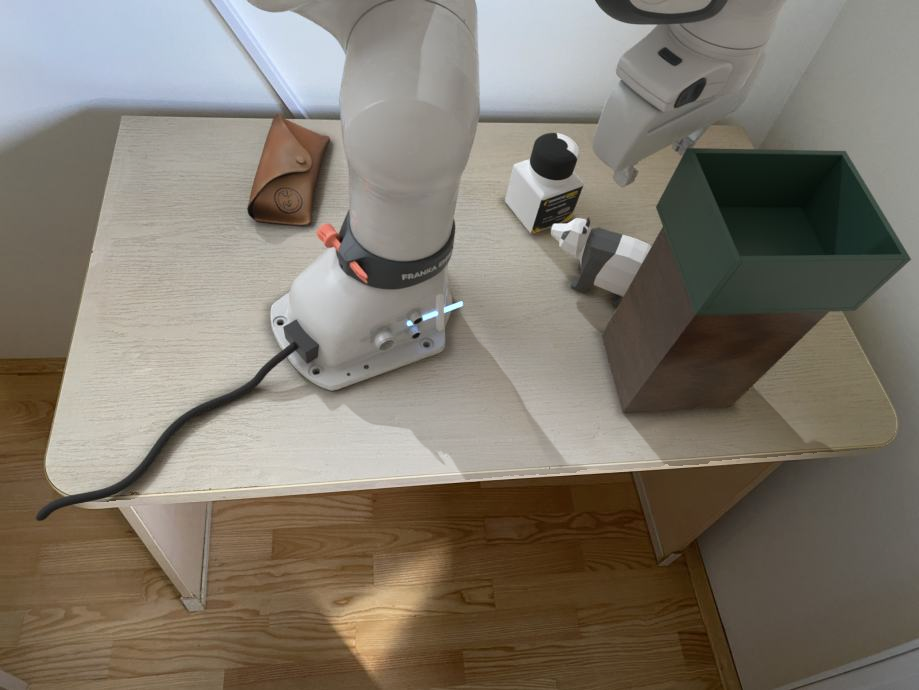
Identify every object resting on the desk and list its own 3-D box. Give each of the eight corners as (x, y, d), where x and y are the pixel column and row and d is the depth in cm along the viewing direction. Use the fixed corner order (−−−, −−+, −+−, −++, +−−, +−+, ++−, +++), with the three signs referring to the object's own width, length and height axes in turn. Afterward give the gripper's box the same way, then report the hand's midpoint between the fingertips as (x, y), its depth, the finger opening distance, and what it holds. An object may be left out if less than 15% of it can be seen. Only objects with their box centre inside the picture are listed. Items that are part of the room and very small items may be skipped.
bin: (695, 315, 59) (735, 261, 53) (655, 207, 66) (686, 147, 60) (855, 311, 62) (911, 259, 56) (800, 207, 69) (845, 150, 62)
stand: (622, 413, 78) (702, 305, 60) (601, 335, 84) (668, 215, 66) (730, 407, 81) (839, 301, 62) (702, 332, 87) (795, 215, 68)
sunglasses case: (314, 225, 87) (283, 190, 82) (270, 238, 90) (238, 206, 85) (331, 134, 97) (305, 98, 92) (292, 148, 99) (264, 114, 94)
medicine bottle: (530, 235, 92) (551, 170, 82) (503, 201, 95) (520, 134, 85) (571, 220, 94) (596, 155, 84) (543, 187, 97) (564, 120, 87)
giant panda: (646, 287, 89) (674, 240, 81) (635, 317, 86) (664, 271, 78) (545, 246, 91) (563, 196, 83) (532, 274, 88) (549, 225, 80)
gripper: (750, 1, 65) (692, 116, 77) (605, 62, 57) (565, 181, 68) (801, 35, 63) (734, 149, 74) (658, 104, 54) (607, 220, 66)
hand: (652, 165), depth 71 cm, fingers open, 8 cm apart
